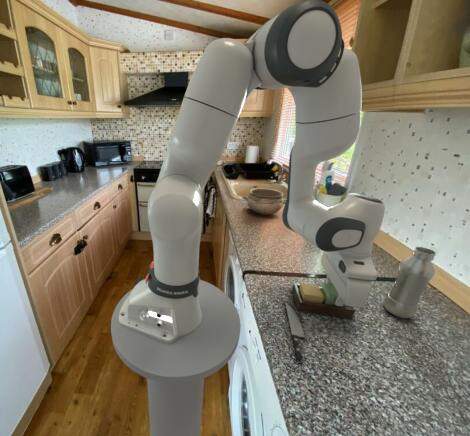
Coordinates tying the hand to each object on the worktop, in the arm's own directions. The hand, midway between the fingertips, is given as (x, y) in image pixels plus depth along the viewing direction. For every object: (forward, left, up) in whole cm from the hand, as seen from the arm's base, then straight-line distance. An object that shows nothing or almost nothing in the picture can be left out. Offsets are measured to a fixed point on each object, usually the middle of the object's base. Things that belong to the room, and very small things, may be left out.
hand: (333, 296), depth 69 cm
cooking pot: (-12, +71, -4) cm, 72 cm away
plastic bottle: (+17, +1, -4) cm, 17 cm away
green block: (0, 0, -2) cm, 2 cm away
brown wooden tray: (-3, 0, -3) cm, 4 cm away
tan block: (-6, 0, -3) cm, 7 cm away
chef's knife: (-12, -11, -3) cm, 17 cm away
